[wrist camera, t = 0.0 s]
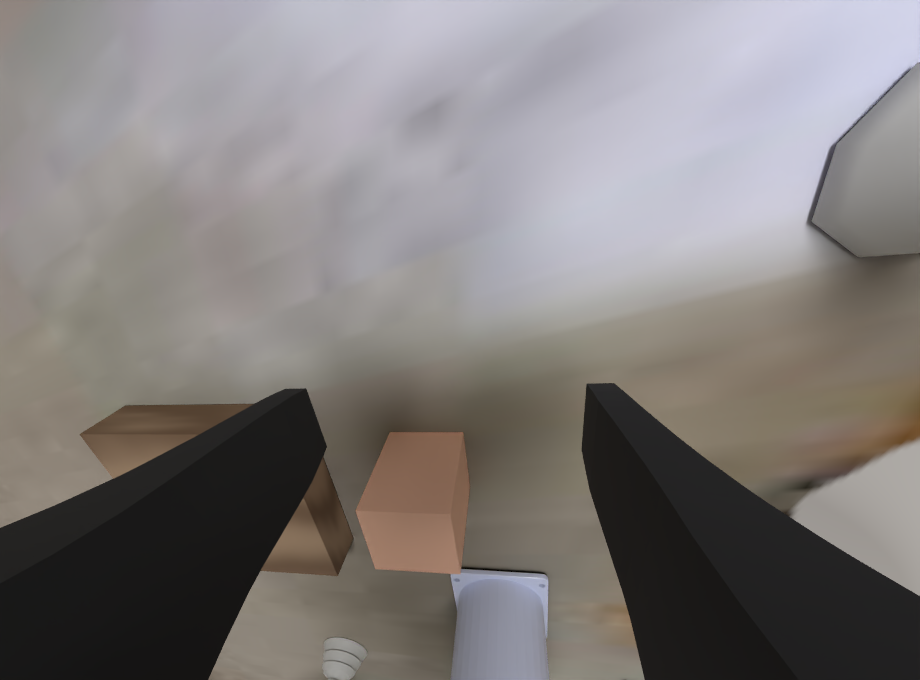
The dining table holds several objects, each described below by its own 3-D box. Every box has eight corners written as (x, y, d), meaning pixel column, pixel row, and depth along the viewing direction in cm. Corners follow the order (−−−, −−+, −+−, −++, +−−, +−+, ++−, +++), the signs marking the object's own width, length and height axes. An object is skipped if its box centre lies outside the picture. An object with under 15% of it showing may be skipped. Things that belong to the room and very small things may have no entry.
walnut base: (353, 538, 29) (337, 576, 26) (207, 530, 31) (179, 565, 28) (302, 403, 23) (276, 434, 20) (125, 405, 25) (79, 434, 22)
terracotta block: (470, 485, 24) (460, 574, 19) (402, 484, 25) (375, 569, 20) (463, 431, 22) (450, 514, 17) (390, 431, 23) (355, 510, 18)
